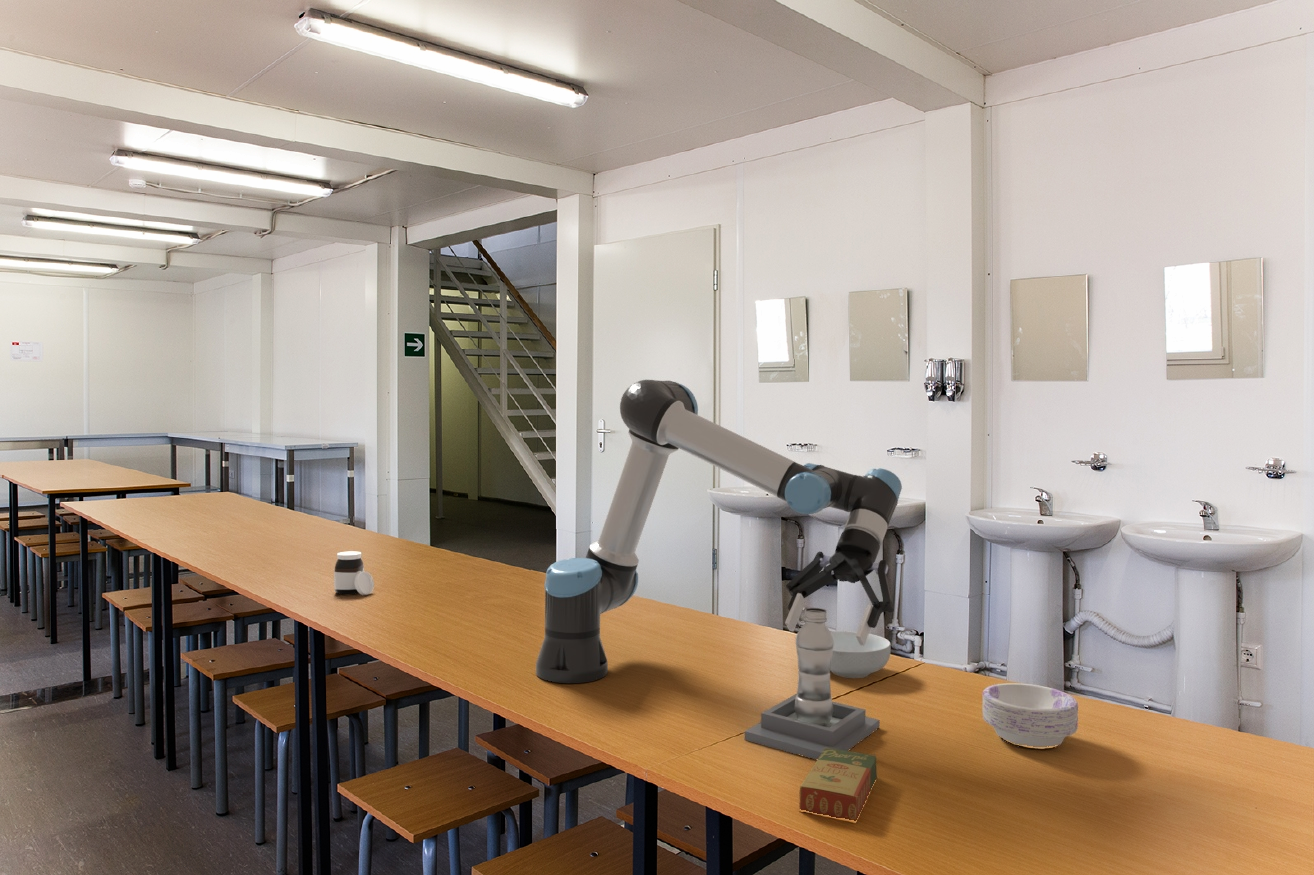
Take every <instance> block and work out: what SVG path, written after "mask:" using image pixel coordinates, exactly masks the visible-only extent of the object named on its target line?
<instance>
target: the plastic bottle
mask: <svg viewBox="0 0 1314 875" xmlns="http://www.w3.org/2000/svg"><path fill="white" fill-rule="evenodd" d="M827 619H828V618H827V610H826V609H824V608H820V607H807V608H805V609H804V616H803V620H804V621H805V623H804V624H803V625H802V626H801V627H800V629H799V630H798V631H797V633H796V637H795V647H796V655H797V667H798V671H797V672H798V673H797V675H798V676H797V677H798V678H797V679H798V680H797V688H796V689H797V690H796V694H797V695H796V699H795V706H794V708H795V714H796V717H797V719H798V720H801V721H804V722H808V723H812V724H816V725H820V726H821V725H826V724H828V723H829V722H830V720H831V719H832V715H833V703H832V702H833V699H832V691H831V671H830V669H831V658H832V652H833V646H834V640H833V637H832V634H831V633H830V632H831V631H830V629H829V628H828V626H827V625H826V622H827V621H828V620H827Z"/></svg>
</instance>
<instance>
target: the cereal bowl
mask: <svg viewBox="0 0 1314 875" xmlns="http://www.w3.org/2000/svg"><path fill="white" fill-rule="evenodd" d="M830 633H831V634H832V637H833V640H834V646H833V652H832V658H831V669H830V672H832V673H833V674H834V675H835V676H838V677H841V676H842V678H846V679H847V678H848V679H859V678H866V677H868V676H869V675H870V674H872V673H876V672H879V670H882V669H883V668H884V667H885V666H886V665H887V664H888V662H889V660H890V658H891V657H890V656H891V653H892V652H891V648H892V647H891V642H890V641H889V639H886V638H885V637H883V636H880V635H876V634H872V633H869V634H868V636H867V639H866V642H865V645H864V646H863V645H860V644H859V642H858V640H857V638H856V634H857V631H850V630H849V631H848V630H846V631H844V630H842V631H841V630H836V631H835V630H834V631H830Z"/></svg>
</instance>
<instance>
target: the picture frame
mask: <svg viewBox="0 0 1314 875" xmlns="http://www.w3.org/2000/svg"><path fill="white" fill-rule="evenodd" d="M796 695H797V693H795V694H793V695H792V696H790V697H788V698H786V699H784V700H782V701H781V702H779V703H777V704H776V705H773V706H772V707H770V708H768V709H766V710H765V711H763V712H761V713H760V717H761V718H760V722H758V723H756V724H755V725H753V726H752V727H750V728H748V729H746V730H745V731H744V741H747V742H751V743H754V744H758V745H760V746H761V745H762V746H764V745H765V746H764V747H768V748H772V749H776V750H778V749H780V750H779V751H782V750H784V751H783V752H785V751H786V752H785V753H789V752H790V754H792V753H793V755H796V754H800V755H803V756H806V757H808V758H807V759H810V758H813V759H818V758H819V757H820V755H821V753H822V752H823V750H824V749H825V748H833V749H839V750H845V751H848V750H849V749H851V748H852V747H853V746H854V745H856V744H857V743H858V742H860V741H861V740H863V739H864V738H865V737H867V736H868V737H870V736H871V735H872V734H873V733H872V732H873V731H875V730H876V729H877V728H879V729H880V722H881V721H880V719H877V718H873V717H868V716H866V713H867V709H865V708H860V707H857V706H853V705H849V704H843V703H841V702H836V701H832V703H833V715H832V719H831V720H830V722H829V723H828V724H826V725H821V726H820V725H816V724H812V723H808V722H804V721H801V720H798V719H797V717H796V714H795V708H794V706H795V699H796ZM876 731H877V730H876ZM876 731H875V732H876ZM871 733H872V734H871ZM870 734H871V735H870ZM869 735H870V736H869ZM868 737H867V738H868ZM864 740H865V739H864ZM864 740H863V741H864ZM860 743H861V742H860ZM856 746H857V745H856ZM852 749H853V748H852ZM852 749H851V750H852ZM803 756H802V757H803ZM806 757H805V758H806ZM813 759H812V760H813Z"/></svg>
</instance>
